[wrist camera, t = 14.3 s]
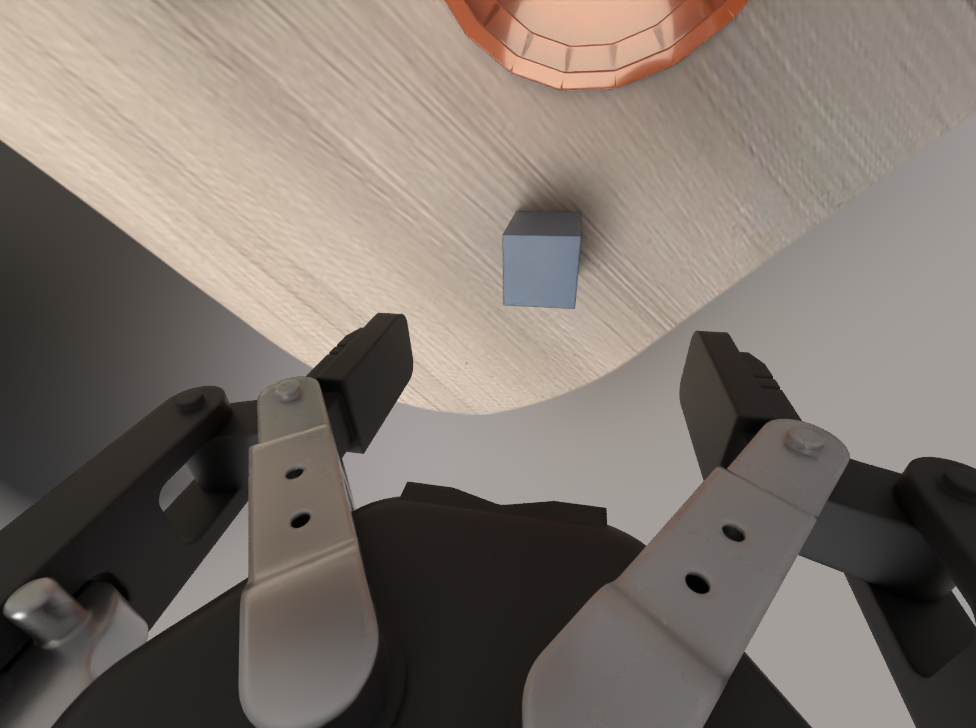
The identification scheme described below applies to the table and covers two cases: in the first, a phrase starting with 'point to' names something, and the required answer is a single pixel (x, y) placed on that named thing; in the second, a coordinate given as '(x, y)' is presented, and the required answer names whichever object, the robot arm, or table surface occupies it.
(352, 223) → the table surface
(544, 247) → the block
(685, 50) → the bowl
